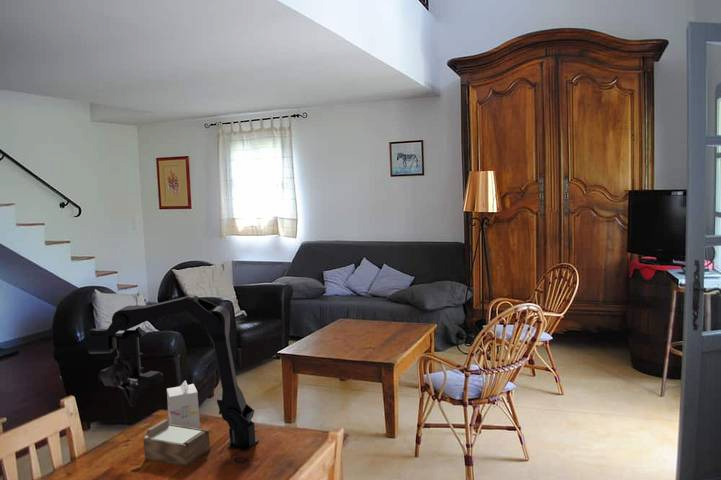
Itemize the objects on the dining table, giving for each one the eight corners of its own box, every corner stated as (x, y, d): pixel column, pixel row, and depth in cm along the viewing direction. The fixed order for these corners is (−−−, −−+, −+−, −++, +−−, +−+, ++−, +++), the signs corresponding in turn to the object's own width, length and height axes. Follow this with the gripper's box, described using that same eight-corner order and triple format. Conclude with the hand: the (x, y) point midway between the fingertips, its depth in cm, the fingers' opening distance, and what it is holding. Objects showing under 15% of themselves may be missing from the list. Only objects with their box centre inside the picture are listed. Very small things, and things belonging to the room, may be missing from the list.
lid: (202, 433, 162) (201, 424, 162) (182, 446, 154) (181, 436, 154) (165, 427, 167) (164, 418, 167) (144, 439, 159) (143, 430, 159)
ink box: (168, 424, 182) (165, 382, 180) (195, 418, 185) (193, 377, 184) (172, 434, 174) (168, 391, 173) (200, 428, 178) (197, 386, 176)
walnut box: (210, 450, 163) (208, 429, 162) (186, 467, 154) (184, 445, 153) (170, 443, 168) (168, 423, 167) (145, 459, 159) (143, 438, 158)
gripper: (80, 357, 159) (84, 412, 160) (132, 364, 151) (137, 421, 153) (111, 346, 169) (115, 398, 170) (162, 351, 162) (166, 406, 163)
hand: (132, 406), depth 164 cm, fingers closed
